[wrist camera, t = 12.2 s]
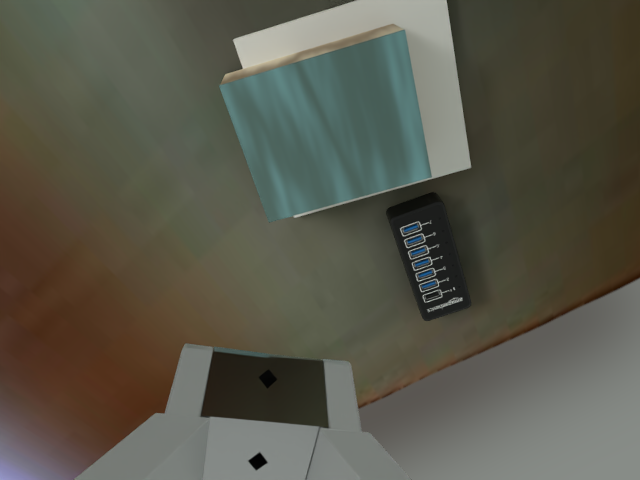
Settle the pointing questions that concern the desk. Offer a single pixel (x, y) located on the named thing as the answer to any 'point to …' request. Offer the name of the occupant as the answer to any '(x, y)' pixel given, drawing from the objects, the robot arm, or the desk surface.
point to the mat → (425, 54)
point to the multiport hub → (429, 255)
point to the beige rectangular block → (329, 122)
